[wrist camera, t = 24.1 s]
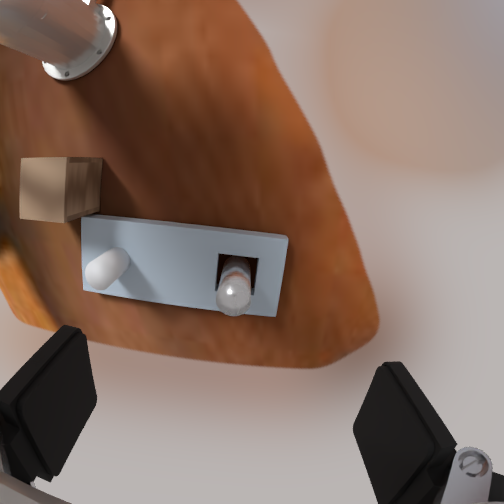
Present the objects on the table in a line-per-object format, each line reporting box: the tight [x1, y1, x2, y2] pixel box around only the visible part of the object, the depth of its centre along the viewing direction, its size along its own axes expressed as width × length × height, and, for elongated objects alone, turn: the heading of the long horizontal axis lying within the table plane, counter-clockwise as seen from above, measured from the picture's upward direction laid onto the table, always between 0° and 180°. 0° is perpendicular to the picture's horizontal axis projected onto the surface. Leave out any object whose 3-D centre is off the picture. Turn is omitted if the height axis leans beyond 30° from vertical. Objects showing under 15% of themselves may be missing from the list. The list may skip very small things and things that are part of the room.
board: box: [81, 214, 288, 317], centre depth 35 cm, size 10×26×8 cm, turn 83°
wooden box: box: [20, 157, 103, 223], centre depth 32 cm, size 7×7×9 cm
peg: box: [216, 255, 251, 316], centre depth 35 cm, size 3×3×10 cm
